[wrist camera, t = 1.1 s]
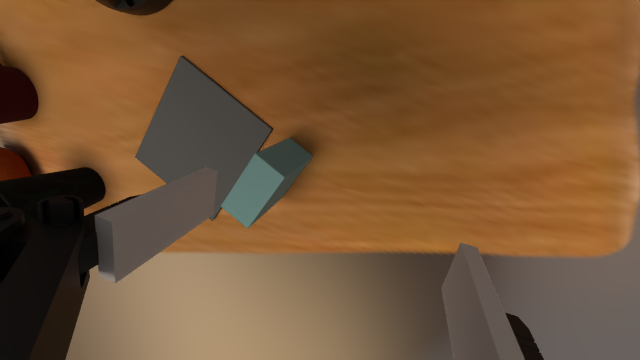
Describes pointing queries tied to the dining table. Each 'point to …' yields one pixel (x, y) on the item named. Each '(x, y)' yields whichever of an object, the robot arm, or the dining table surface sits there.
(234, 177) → the mat
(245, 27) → the dining table surface
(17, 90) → the mug
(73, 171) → the cup
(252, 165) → the card box
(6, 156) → the fruit
